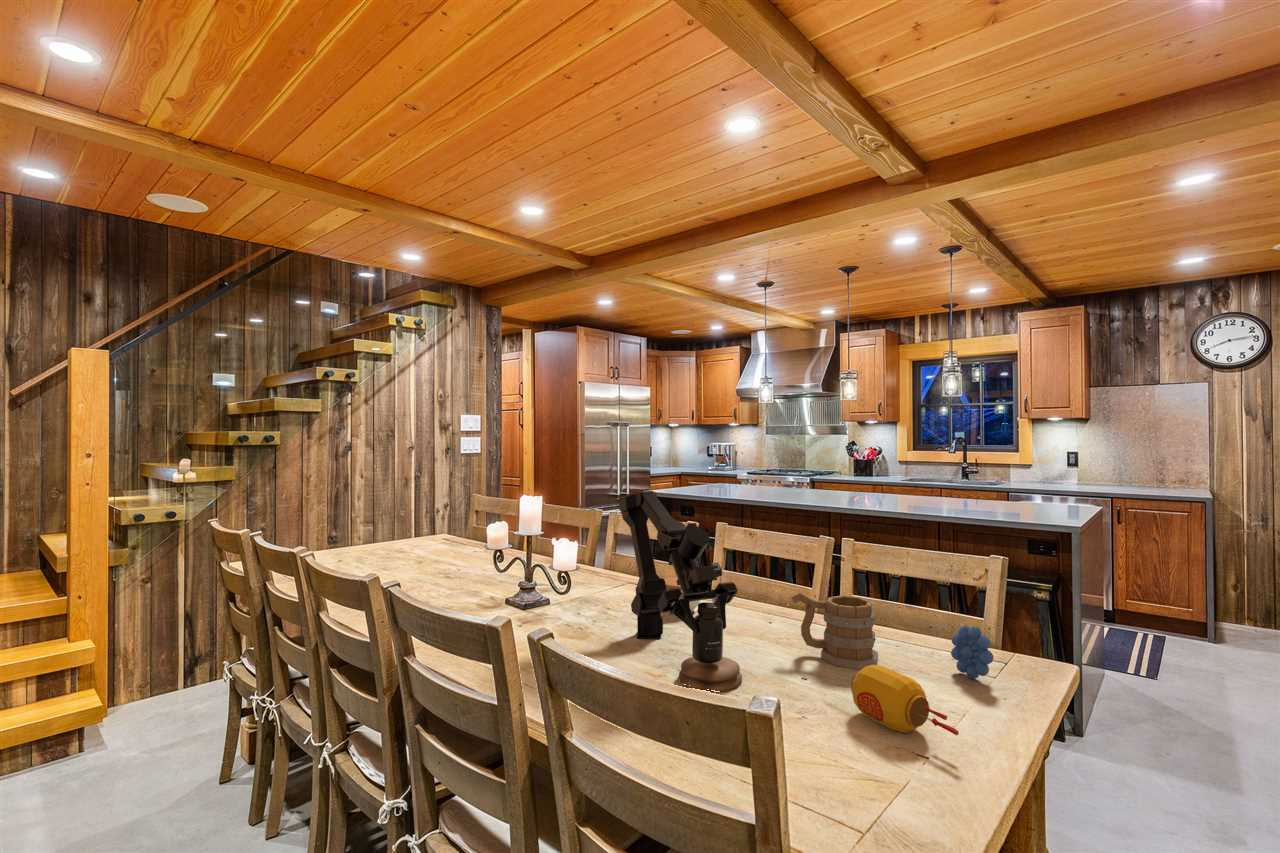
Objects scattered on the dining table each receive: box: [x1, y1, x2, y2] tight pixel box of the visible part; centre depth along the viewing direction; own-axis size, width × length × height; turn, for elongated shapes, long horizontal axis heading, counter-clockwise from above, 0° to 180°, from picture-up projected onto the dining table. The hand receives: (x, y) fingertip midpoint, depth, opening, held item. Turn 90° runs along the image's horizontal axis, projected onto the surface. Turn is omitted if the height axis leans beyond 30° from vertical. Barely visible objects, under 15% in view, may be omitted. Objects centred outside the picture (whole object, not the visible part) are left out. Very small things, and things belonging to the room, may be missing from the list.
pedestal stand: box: [678, 656, 743, 694], centre depth 137 cm, size 14×14×3 cm
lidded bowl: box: [663, 576, 701, 613], centre depth 189 cm, size 13×13×11 cm
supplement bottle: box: [691, 601, 724, 663], centre depth 138 cm, size 7×7×12 cm
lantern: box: [829, 664, 960, 736], centre depth 116 cm, size 10×10×30 cm
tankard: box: [791, 592, 879, 670], centre depth 150 cm, size 20×13×15 cm, turn 65°
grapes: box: [950, 625, 994, 680], centre depth 136 cm, size 12×7×12 cm, turn 13°
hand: (711, 630), depth 136 cm, fingers closed on supplement bottle, 7 cm apart
